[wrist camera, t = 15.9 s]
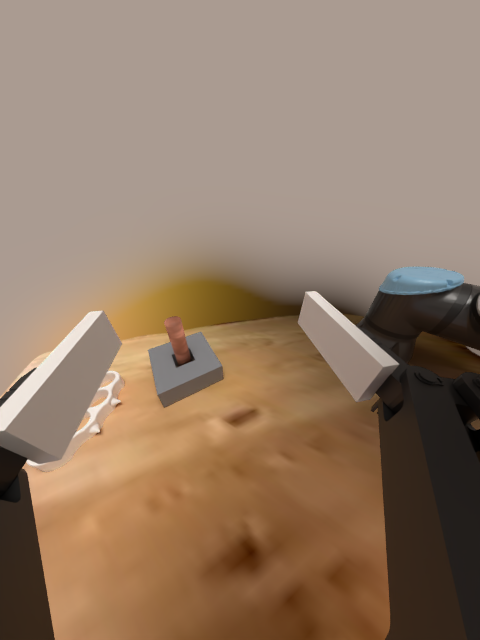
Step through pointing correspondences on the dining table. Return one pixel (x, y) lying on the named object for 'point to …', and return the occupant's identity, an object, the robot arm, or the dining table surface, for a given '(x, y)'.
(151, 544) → the dining table surface
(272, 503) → the dining table surface
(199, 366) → the socket block
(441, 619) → the robot arm
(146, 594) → the dining table surface
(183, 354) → the dowel
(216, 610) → the dining table surface
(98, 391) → the knuckle duster
